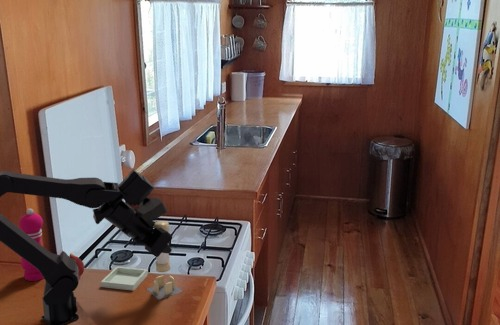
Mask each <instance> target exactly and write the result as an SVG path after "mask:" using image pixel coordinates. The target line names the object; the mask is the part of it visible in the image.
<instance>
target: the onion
mask: <svg viewBox="0 0 500 325" xmlns="http://www.w3.org/2000/svg"><path fill="white" fill-rule="evenodd" d="M68 256H69V257H70V258H72V259H75V260H76V264H77V266H78V269H79V278H80V277H81V276H82V275H83V274H84V272H85V263H84V261H82V259H81V258H79V257H78V256H76V255H74V254H73V253H72V252H70V253H69V255H68Z"/></svg>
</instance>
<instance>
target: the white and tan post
mask: <svg viewBox="0 0 500 325" xmlns="http://www.w3.org/2000/svg"><path fill="white" fill-rule="evenodd" d="M154 223H155V225H154V226H153V229H154V228H162V229H164V230H166V231H167V232H170V225H169V224H170V223H169V222H168V221H167V220H159V221H156V222H154ZM169 243H170V242H169ZM169 243H168V245H169ZM169 246H170V245H169ZM155 259H156V261H155V271H156V272H158V273H167V272H169V271H170V270H171V261H170V254H168V253H161V254H160V256H158V257H155Z"/></svg>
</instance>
